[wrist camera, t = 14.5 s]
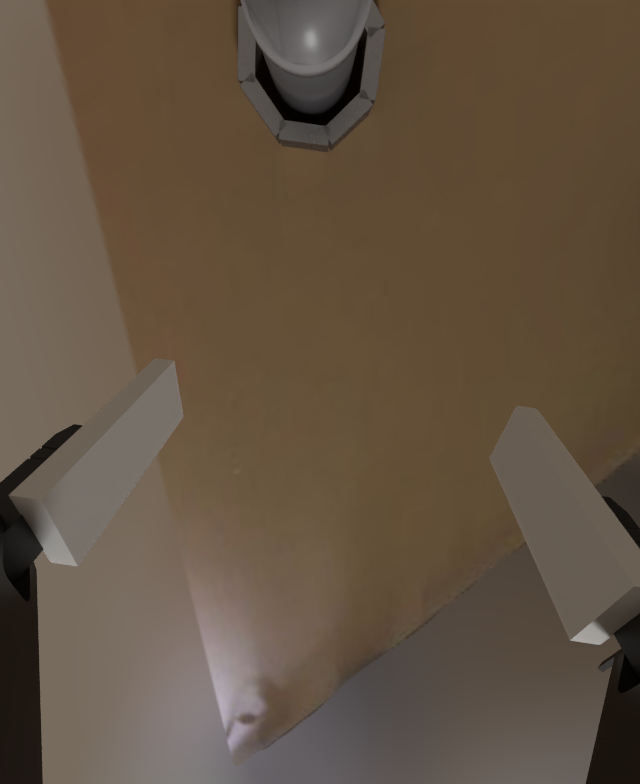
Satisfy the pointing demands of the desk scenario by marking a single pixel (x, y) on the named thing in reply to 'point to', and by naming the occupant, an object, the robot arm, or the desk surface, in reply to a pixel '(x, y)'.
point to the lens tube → (308, 49)
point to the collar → (304, 132)
